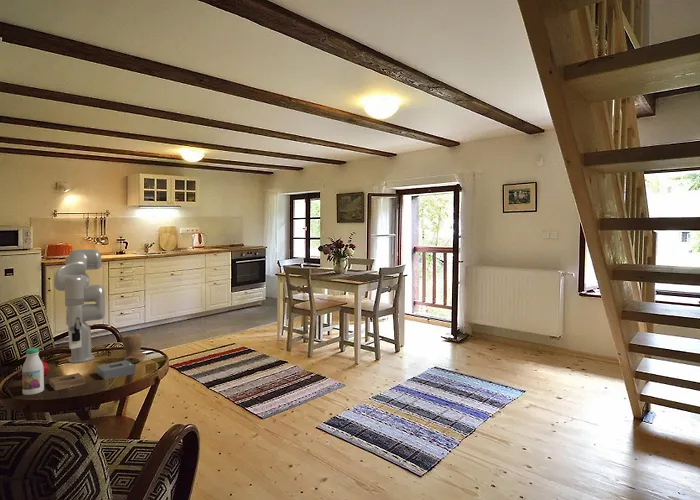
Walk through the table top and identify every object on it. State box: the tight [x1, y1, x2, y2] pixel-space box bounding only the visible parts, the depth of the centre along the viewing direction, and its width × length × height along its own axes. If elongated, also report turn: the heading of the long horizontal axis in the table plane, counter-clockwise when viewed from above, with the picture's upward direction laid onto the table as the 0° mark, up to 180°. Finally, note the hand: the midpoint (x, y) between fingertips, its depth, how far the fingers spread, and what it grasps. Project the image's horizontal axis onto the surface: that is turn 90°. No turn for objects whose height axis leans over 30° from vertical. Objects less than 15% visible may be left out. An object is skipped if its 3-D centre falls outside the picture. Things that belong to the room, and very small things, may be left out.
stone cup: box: [121, 332, 147, 364], centre depth 233 cm, size 15×12×15 cm
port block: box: [96, 359, 136, 380], centre depth 210 cm, size 12×14×5 cm
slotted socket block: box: [48, 372, 87, 391], centre depth 194 cm, size 12×12×3 cm
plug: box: [67, 325, 82, 350], centre depth 196 cm, size 3×5×11 cm
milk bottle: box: [21, 347, 45, 396], centre depth 184 cm, size 8×8×20 cm
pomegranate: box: [40, 358, 50, 377], centre depth 207 cm, size 10×10×9 cm
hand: (75, 340), depth 196 cm, fingers closed on plug, 3 cm apart
